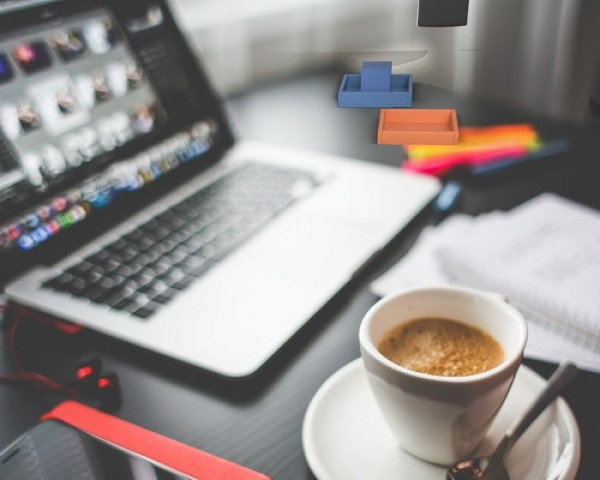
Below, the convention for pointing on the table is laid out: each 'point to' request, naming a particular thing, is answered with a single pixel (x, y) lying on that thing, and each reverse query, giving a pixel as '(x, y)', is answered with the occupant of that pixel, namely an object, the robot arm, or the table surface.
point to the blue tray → (375, 93)
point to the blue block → (376, 76)
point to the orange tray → (418, 127)
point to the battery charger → (442, 13)
